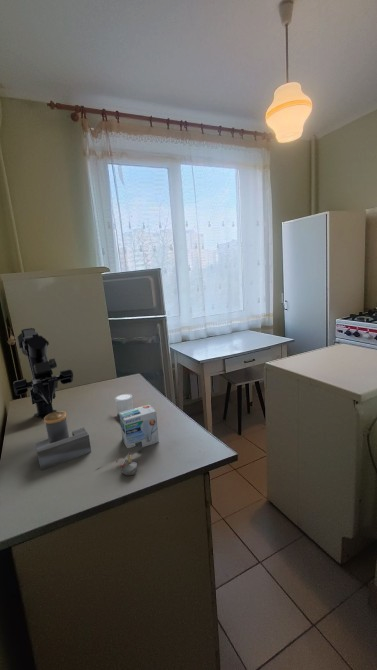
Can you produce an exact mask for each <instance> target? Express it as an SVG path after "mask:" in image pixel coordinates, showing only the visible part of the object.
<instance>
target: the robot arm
mask: <svg viewBox="0 0 377 670" xmlns="http://www.w3.org/2000/svg"><path fill="white" fill-rule="evenodd" d="M17 345H18V348H19V349H20V350H21V353H22V354H23V355H25V356H26V357H27V360H28V361H27V362H28V367H29V368H30V372H31V378H32V379H31V380H30V381H27V378H24V379H20V380H15V381H13V383H12V385H13V390H14V394H15V395H14V396H16V397H17V396H21V395H22V396H23V395H26V394H27V393H28V391H29V397H30V402H31V403H32V405H35V407H36V413H34V414H33V416H34V417H38V418H41V419H44V417H45V416H47V415H48V414H51V413H54V412H58V411H57V410H56V409H54V407H53V400H54V399H55V398H56V389H57V388H58V385H59V384H58V383H59V382H60V383H61V385H66V384H71V383H73V381H74V373H73V370H72V369H70V368H69V369H65V370H61V371H59V375H58V374H57V375H53V369H56V368H57V367H58V364H57V360H56V358H50V359H48V356H47V353H48V347H49V346H48V345H50V342H49V340H47V339H46V338H45V337H44V336H43V335H41V334H39V332H37V331H36V328H33V327H30V328H29V327H28V328H24V329H23V328H22V329H21V332H20V334H19V335H18V336H17ZM29 388H30V389H29Z"/></svg>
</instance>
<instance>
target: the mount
mask: <svg viewBox="0 0 377 670" xmlns="http://www.w3.org/2000/svg"><path fill="white" fill-rule="evenodd" d="M71 435H72V436H69V438H66V439H63V440H60V441H57V442H54V443H51V444H50V442H49V439H48V438H47V439H44V440H41V441H38V442H35V443H34V445H35V450H36V455H37V459H38V460H37V461H38V464H39V469H40V471H43V470H46V469H49V468H52V467H54V466H57V465H60V464H63V463H64V462H67V461H70V460H73V459H76V458H78V457H81V456H83V455H86V454H89V453H91V452H92V447H91V440H90V435H89V433H88V431H87V430H86V429H85V427H80V428H78V429H74V430H71Z"/></svg>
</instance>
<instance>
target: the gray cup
mask: <svg viewBox="0 0 377 670" xmlns="http://www.w3.org/2000/svg"><path fill="white" fill-rule="evenodd" d="M43 419H44V423H45V428H46V432H47V433H46V434H47V439H49V442H50V444H51V443H54V442H57V441H60V440H63V439H66V438H69V437H70V433H69V428H68V427H69V426H68V421H67V413H66V411H63V410H62V411H61V410H60V411H57V412H54V413H51V414H48V415H47V416H45V417H44V418H43Z"/></svg>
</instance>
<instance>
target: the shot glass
mask: <svg viewBox="0 0 377 670" xmlns="http://www.w3.org/2000/svg"><path fill="white" fill-rule="evenodd" d="M114 401H115V405H116V410H117V413H118V416H119V417H120V414H119V413H120V412H124V411H127V410H131V409H134V408H133V407H134V406H133V405H134V403H133V395H132V394H131V393H123V394H121V393H120V394H119V395H117V396H115V397H114Z"/></svg>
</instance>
